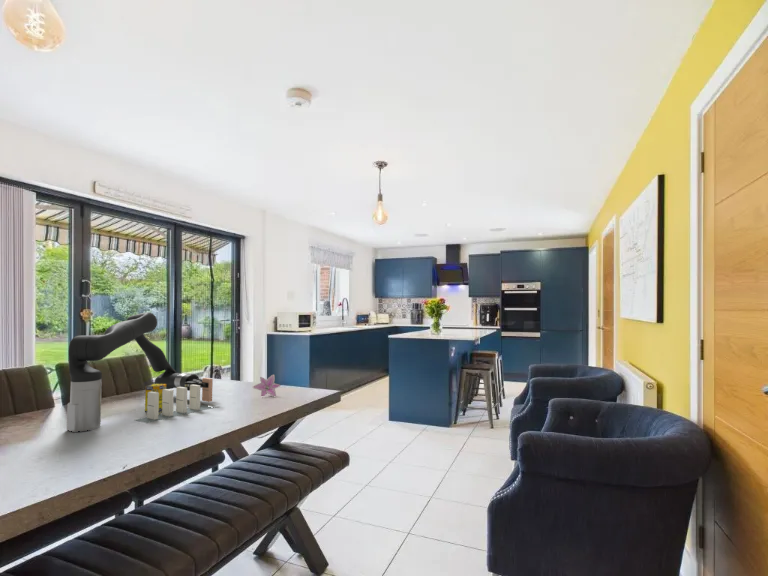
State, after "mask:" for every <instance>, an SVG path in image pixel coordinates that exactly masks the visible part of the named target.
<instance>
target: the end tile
mask: <svg viewBox="0 0 768 576" xmlns="http://www.w3.org/2000/svg"><path fill="white" fill-rule="evenodd" d="M158 410H159V393H158V392H152V391H151V392H148V398H147V412H146V417H147V418H149V419H153V420H155V419H158V415H159V412H158Z"/></svg>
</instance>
